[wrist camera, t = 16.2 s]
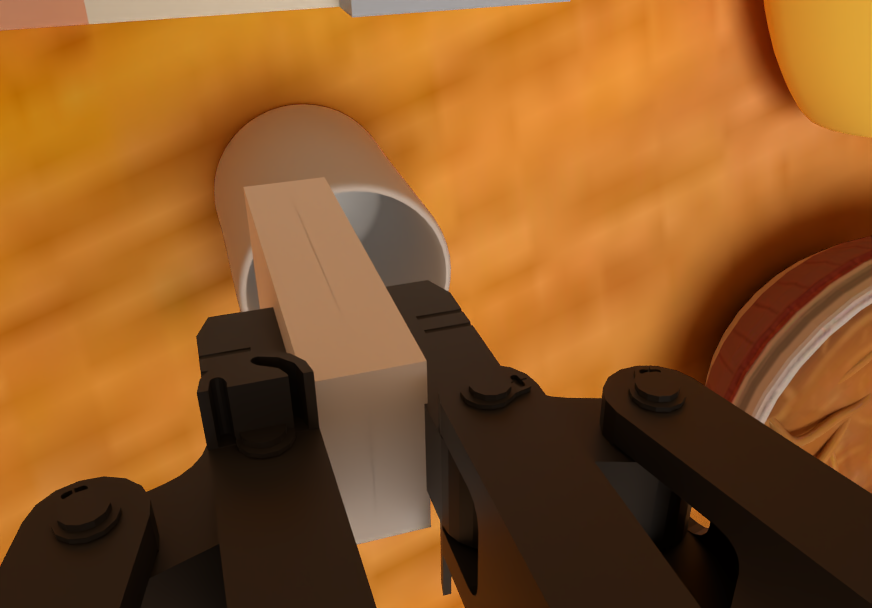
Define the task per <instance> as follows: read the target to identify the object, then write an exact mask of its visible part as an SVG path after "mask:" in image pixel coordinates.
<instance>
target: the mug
mask: <svg viewBox="0 0 872 608" xmlns="http://www.w3.org/2000/svg"><path fill="white" fill-rule="evenodd" d="M321 177H325V179H326V181H327V183H328V184H329V186H330V188H331V190H332V192H333V193H334V195H335V197H336V199H337V201H338V202H339V204H340V206H341V208H342V210H343V211H344V213H345V215H346V217H347V218H348V220H349V222H350V224H351V226H352V227H353V229H354V231H355V233H356V235H357V236H358V238H359V240H360V242H361V244H362V245H363V247H364V249H365V251H366V253H367V254H368V256H369V258H370V260H371V262H372V263H373V265H374V267H375V269H376V271H377V272H378V274H379V276H380V278H381V280H382V281H383V283H384V285H385V287H387V286H393V285H399V284H406V283H412V282H418V281H424V280H429V281H431V282H432V283H434V284H436V285H438V286H439V287H441V288H443V289H445V290H447V291H448V290H449V285H450V274H451V265H450V255H449V251H448V247H447V243H446V241H445V238H444V236H443V233H442V231H441V229H440V227H439V226H438V224H437V222H436V221H435V219H434V217H433V216H432V215H431V213H430V212H429V211H428V209H427V208H426V207H425V206H424V204H423V203H422V202H421V201H420V199H419V198H418V197H417V195H416V194H415V193H414V192H413V190H412V189H411V188H410V187H409V185H408V184H407V183H406V181H405V180H404V179H403V178H402V176H401V175H400V174H399V173H398V171H397V170H396V169H395V167H394V166H393V165H392V164H391V162H390V161H389V160H388V158H387V157H386V156H385V154H384V153H383V151H382V150H381V148H380V147H379V145H378V144H377V143H376V141H375V140H374V139H373V138H372V136H371V135H370V134H369V133H368V132H367V131H366V130H365V129H364V128H363V127H362V126H361V125H360V124H359V123H357V122H356V121H354V120H353V119H352V118H350V117H349V116H347V115H345V114H343V113H341V112H339V111H336V110H333V109H331V108H327V107H323V106H318V105H308V104H297V105H288V106H283V107H279V108H276V109H273V110H270V111H268V112H266V113H263V114H261V115H259V116H258V117H256V118H254V119H253V120H251V121H250V122H248V123H247V124H246V125H245V126H244V127H243V128H241V129H240V130H239V131H238V132H237V134H236V135H235V136H234V137H233V138H232V139H231V141H230V142H229V144H228V145H227V147H226V148H225V150H224V152H223V154H222V156H221V158H220V161H219V164H218V167H217V170H216V176H215V182H214V197H215V206H216V210H217V214H218V218H219V222H220V225H221V229H222V232H223V237H224V241H225V246H226V250H227V255H228V259H229V264H230V268H231V273H232V277H233V282H234V286H235V291H236V295H237V299H238V303H239V307H240V311H241V312H245V311H251V310H258V309H260V305H259V298H258V291H257V283H256V276H255V269H254V261H253V254H252V247H251V240H250V232H249V225H248V218H247V210H246V203H245V196H244V188H243V187H247V186H256V185H264V184H272V183H280V182H288V181H296V180H304V179H312V178H321Z"/></svg>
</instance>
